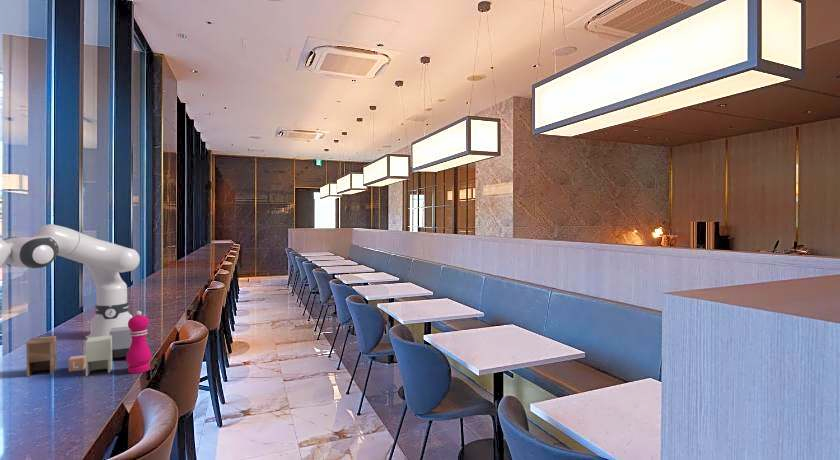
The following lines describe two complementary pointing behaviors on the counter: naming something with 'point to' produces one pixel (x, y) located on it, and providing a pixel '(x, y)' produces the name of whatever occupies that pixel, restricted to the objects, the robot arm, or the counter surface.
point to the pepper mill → (138, 345)
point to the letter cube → (77, 363)
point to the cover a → (41, 354)
